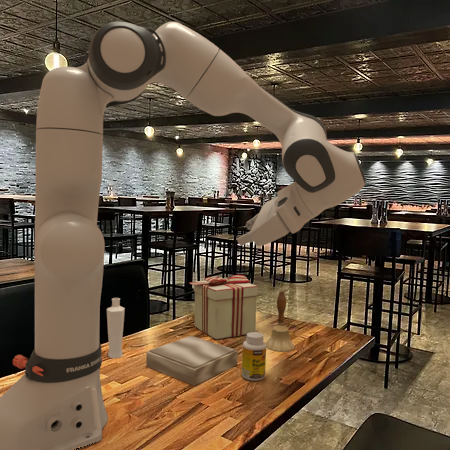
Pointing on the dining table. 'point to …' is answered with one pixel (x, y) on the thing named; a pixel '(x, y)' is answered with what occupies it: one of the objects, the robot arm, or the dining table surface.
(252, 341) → the supplement bottle
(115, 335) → the perfume bottle
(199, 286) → the gift box
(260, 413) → the dining table surface
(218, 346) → the riser
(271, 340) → the hand bell
